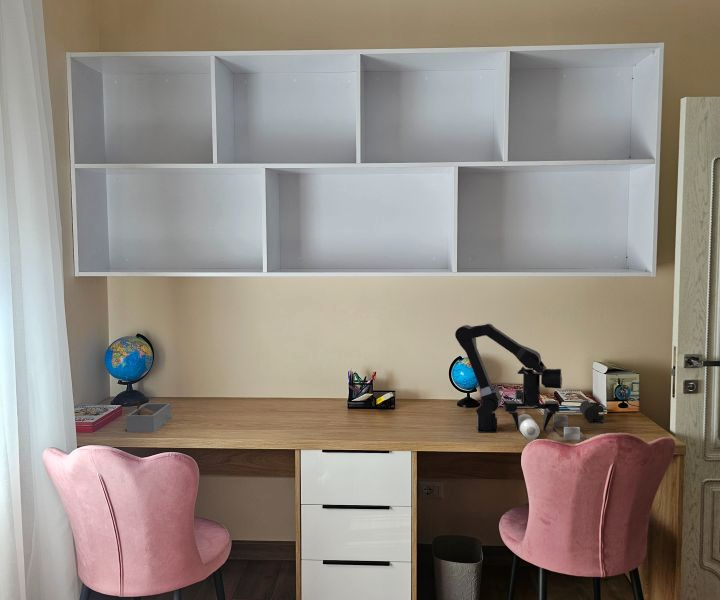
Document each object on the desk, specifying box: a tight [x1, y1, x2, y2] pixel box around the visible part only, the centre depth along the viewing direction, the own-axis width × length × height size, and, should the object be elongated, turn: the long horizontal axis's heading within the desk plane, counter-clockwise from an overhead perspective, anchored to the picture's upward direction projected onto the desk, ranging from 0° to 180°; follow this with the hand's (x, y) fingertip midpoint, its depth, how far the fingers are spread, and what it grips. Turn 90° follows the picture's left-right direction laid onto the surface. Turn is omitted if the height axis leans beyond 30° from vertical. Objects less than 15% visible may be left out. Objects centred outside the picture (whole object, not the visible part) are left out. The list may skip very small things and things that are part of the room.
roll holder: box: [545, 414, 588, 444], centre depth 247 cm, size 11×18×5 cm, turn 177°
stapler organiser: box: [125, 402, 172, 433], centre depth 264 cm, size 10×20×6 cm, turn 177°
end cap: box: [579, 400, 605, 424], centre depth 269 cm, size 10×7×7 cm
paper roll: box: [518, 413, 541, 440], centre depth 249 cm, size 6×12×6 cm, turn 177°
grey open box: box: [128, 400, 166, 426], centre depth 264 cm, size 14×4×9 cm, turn 75°
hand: (530, 430), depth 249 cm, fingers open, 9 cm apart
